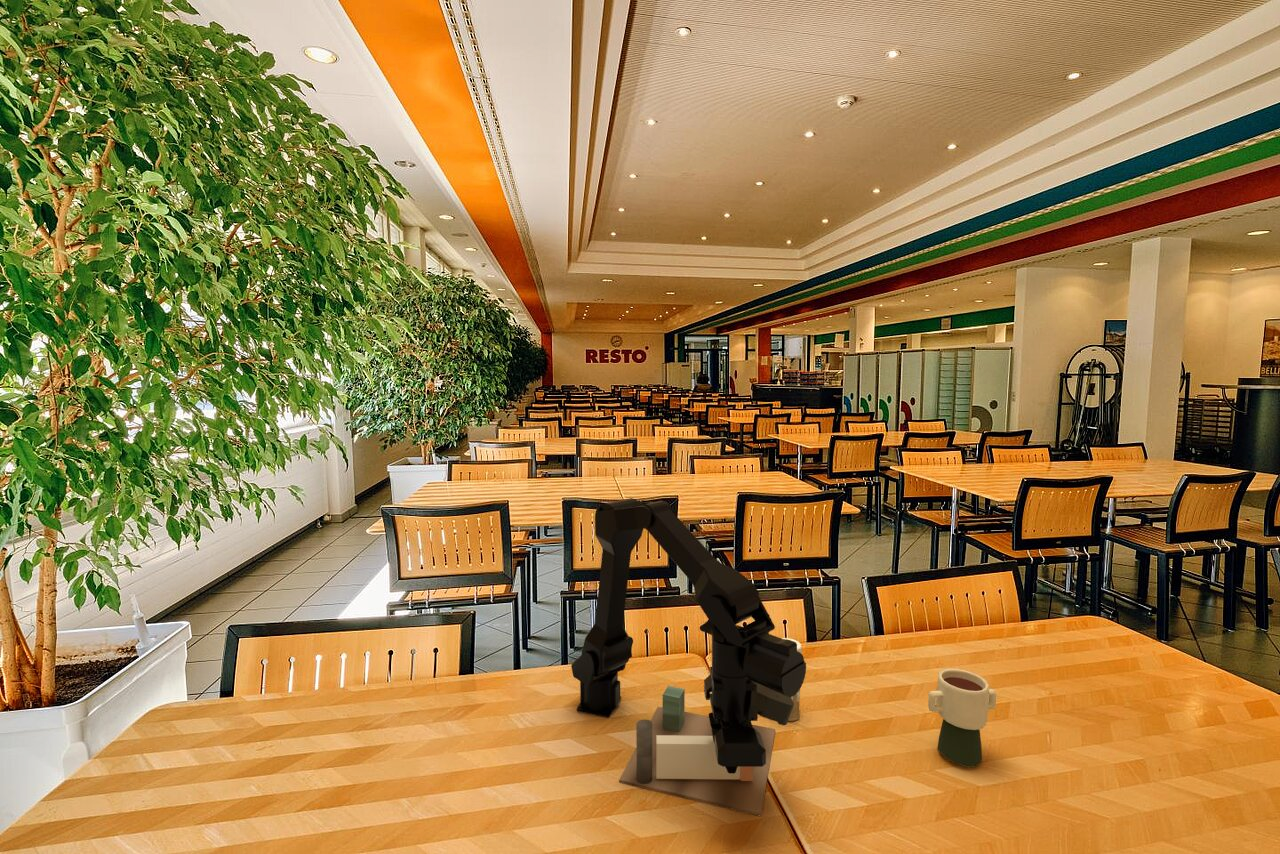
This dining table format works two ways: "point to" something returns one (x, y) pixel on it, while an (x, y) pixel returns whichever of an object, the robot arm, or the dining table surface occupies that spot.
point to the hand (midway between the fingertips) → (731, 772)
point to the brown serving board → (703, 790)
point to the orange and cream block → (692, 759)
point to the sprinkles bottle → (796, 698)
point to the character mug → (961, 714)
